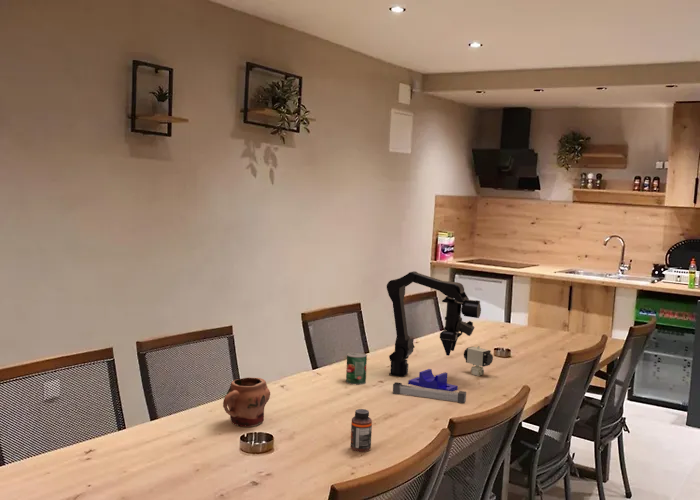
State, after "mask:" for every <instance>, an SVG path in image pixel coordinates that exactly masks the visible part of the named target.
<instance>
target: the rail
mask: <svg viewBox="0 0 700 500" xmlns="http://www.w3.org/2000/svg"><path fill="white" fill-rule="evenodd" d="M392 395H403V396H404V395H405V396H411V397H412V396H413V397H420V398H426V399H434V400H441V401H448V402H454V403H458V404H466V402H467V391H465V390H459V391H453V392H452V391H445V390H437V389H430V388H424V387H420V386H415V385H409V384H408V385H407V384H403V383H402V382H398V381H397V382H394V383H393V384H392Z"/></svg>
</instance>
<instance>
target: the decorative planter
mask: <svg viewBox="0 0 700 500" xmlns="http://www.w3.org/2000/svg"><path fill="white" fill-rule="evenodd" d="M270 398H271V391H270V389H269V388H268V385H267V382H266V380H265V379H263V378H261V377H244V378H238V379H234V380H232V381H231V383H230V385H229V388H228V390H227V392H226V395H224V398H223V403H222V407H223V409H224V411H225V413H226V414H228V415H229V417H230V421H231V424H233V423H234V424H233V425H235V424H236V425H235V426H237V425H240V426H239V427H243V426H244V427H247V428H248V427H255V426H258V425H261V424H262V423H263V422H264V421H265V407H266V404H267V403H268V402H269V400H270Z"/></svg>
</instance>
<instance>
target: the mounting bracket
mask: <svg viewBox="0 0 700 500" xmlns="http://www.w3.org/2000/svg"><path fill="white" fill-rule="evenodd" d="M418 374H419V375H418V376H417V377H414V378H411V379H408V380H407V381H408V383H407V384H408V385H410V386H415V387H423V388H430V389H437V390H445V391H452V392H456V391H458V389H459V385H455V384H453V383H452V384H451V383H448V372H445V371H444V372H443V373H439V374H436V375H434V374H433V371H432V369H431V368H428V369H425V370H422V371H419V373H418Z"/></svg>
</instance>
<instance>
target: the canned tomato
mask: <svg viewBox="0 0 700 500" xmlns="http://www.w3.org/2000/svg"><path fill="white" fill-rule="evenodd" d="M367 357H368V354H366V353H364V352H358V351H357V352H356V351H354V352H353V351H351V352H348V353H346V373H345V375H346V376H345V382H346V383H347V384H350V385H353V384H356V385H355V386H357V385H359V386H360V385H361V386H362V385H365V384H366V383H367V365H368V364H367V361H368V360H367V359H368V358H367Z"/></svg>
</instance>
